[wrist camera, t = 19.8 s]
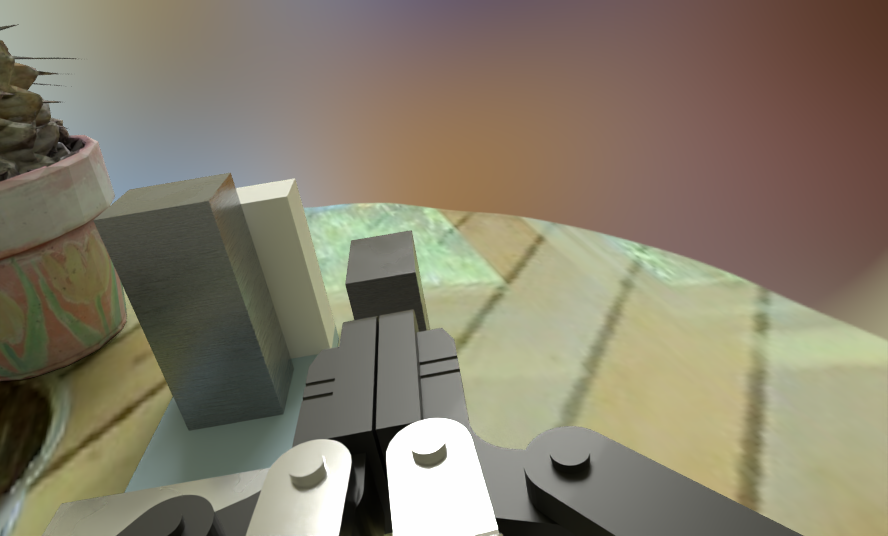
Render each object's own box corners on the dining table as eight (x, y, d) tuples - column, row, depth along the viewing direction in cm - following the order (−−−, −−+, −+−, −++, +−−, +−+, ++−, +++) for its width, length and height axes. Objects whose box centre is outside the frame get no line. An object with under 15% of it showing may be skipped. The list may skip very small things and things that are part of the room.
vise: (8, 768, 19) (-220, 535, 14) (202, 361, 38) (138, 204, 33) (287, 718, 19) (163, 470, 14) (338, 337, 38) (295, 178, 33)
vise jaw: (54, 621, 22) (-135, 365, 16) (91, 550, 24) (-62, 310, 19) (494, 544, 22) (450, 266, 16) (482, 482, 25) (441, 225, 19)
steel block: (188, 430, 31) (92, 220, 25) (209, 383, 34) (129, 189, 29) (283, 414, 31) (208, 200, 25) (294, 368, 34) (230, 172, 29)
